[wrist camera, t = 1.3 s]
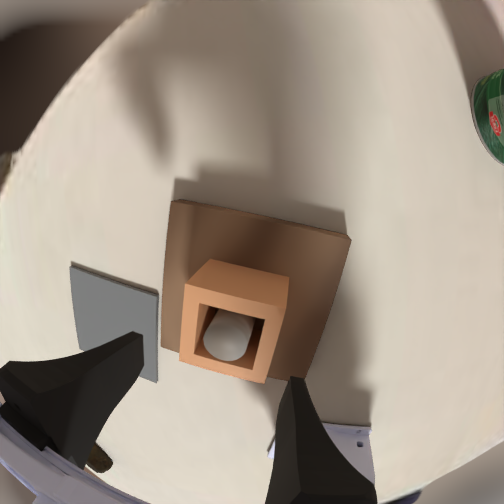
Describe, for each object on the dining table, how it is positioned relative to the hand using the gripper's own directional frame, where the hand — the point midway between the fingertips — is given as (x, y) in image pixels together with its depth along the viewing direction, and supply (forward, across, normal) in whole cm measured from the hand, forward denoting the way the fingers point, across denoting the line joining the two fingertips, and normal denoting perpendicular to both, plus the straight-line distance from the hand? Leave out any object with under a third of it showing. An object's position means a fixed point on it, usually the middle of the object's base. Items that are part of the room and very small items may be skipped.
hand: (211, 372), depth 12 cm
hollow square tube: (+8, 0, 0) cm, 8 cm away
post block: (+9, 0, 0) cm, 9 cm away
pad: (+9, +12, +7) cm, 17 cm away
